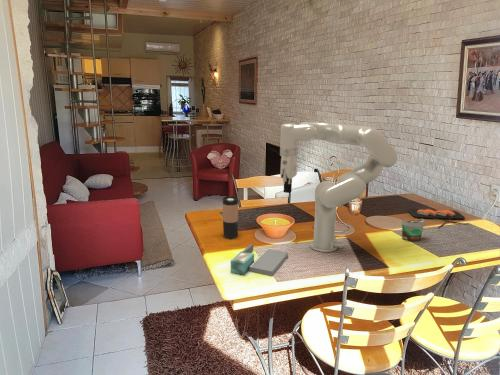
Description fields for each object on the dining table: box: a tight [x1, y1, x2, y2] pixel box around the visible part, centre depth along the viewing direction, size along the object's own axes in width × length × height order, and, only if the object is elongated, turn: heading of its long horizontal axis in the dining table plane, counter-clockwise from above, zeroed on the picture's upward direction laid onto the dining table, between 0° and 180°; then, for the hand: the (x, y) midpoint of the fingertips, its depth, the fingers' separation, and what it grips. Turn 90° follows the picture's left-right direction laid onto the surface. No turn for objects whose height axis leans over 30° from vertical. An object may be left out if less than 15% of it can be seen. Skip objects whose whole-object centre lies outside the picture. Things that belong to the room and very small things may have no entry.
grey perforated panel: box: [242, 243, 289, 277], centre depth 163 cm, size 18×20×3 cm
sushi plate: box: [407, 208, 469, 229], centre depth 218 cm, size 29×30×4 cm
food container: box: [400, 218, 426, 243], centre depth 187 cm, size 12×6×10 cm, turn 105°
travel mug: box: [222, 195, 239, 240], centre depth 190 cm, size 8×8×20 cm
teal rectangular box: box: [230, 250, 255, 276], centre depth 157 cm, size 6×10×5 cm, turn 156°
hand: (287, 192), depth 172 cm, fingers closed
